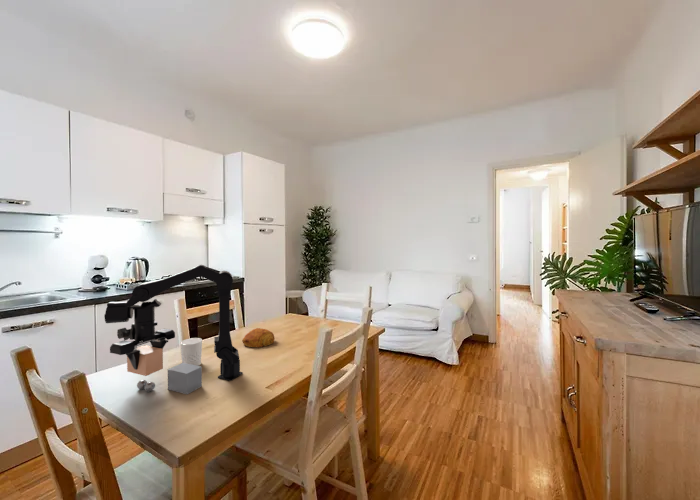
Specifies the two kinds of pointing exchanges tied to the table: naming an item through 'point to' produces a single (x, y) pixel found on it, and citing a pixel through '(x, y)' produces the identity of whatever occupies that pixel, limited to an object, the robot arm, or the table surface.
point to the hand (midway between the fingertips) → (145, 365)
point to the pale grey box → (184, 378)
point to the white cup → (191, 351)
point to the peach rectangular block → (147, 361)
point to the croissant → (258, 338)
